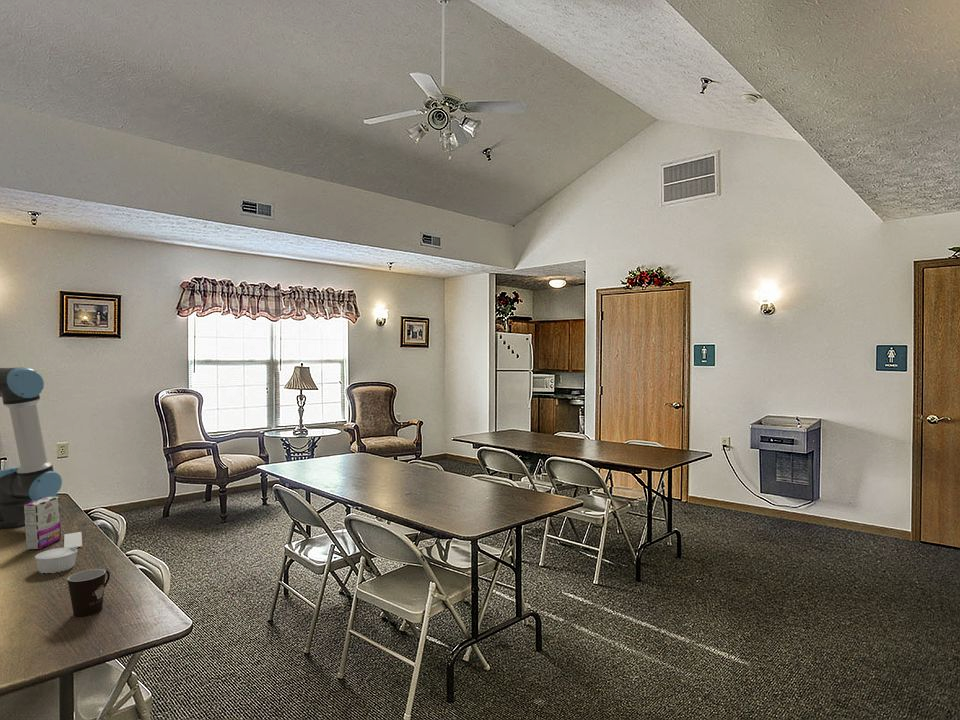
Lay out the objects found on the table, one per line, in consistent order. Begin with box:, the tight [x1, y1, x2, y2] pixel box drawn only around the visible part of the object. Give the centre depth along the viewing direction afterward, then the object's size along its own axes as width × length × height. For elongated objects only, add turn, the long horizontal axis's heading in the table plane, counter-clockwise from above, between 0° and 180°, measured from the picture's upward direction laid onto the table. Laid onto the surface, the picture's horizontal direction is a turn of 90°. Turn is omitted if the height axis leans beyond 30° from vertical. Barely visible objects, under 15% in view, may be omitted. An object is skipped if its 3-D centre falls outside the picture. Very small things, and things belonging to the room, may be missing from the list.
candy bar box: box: [24, 496, 62, 550], centre depth 214 cm, size 11×5×16 cm, turn 179°
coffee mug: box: [66, 568, 111, 618], centre depth 160 cm, size 12×9×10 cm
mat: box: [63, 531, 83, 549], centre depth 218 cm, size 20×5×1 cm, turn 35°
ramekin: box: [34, 546, 78, 575], centre depth 191 cm, size 11×11×5 cm
